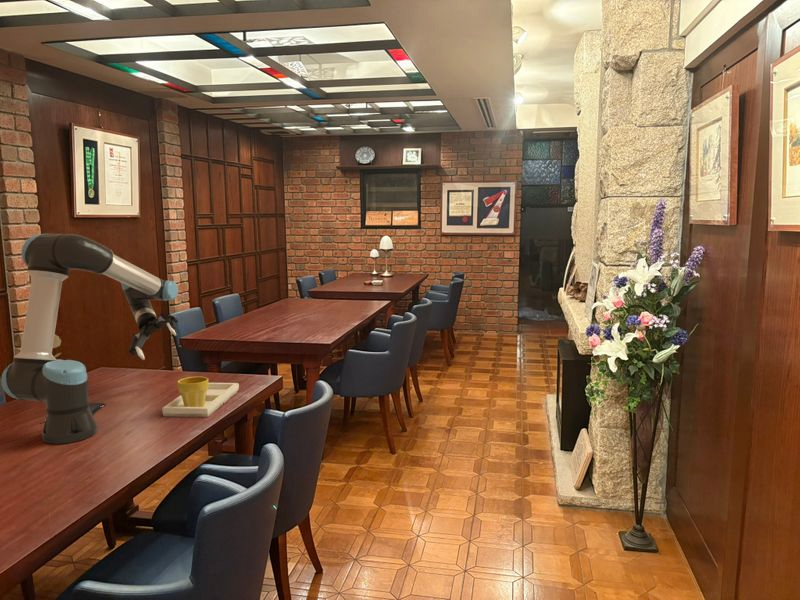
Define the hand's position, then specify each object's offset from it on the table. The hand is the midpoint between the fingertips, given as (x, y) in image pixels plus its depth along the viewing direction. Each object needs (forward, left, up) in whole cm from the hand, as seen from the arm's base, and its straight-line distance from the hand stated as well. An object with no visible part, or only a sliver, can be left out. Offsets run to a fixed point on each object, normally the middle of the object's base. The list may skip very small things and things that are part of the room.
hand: (157, 345), depth 205 cm
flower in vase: (+11, +48, -23) cm, 54 cm away
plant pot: (-2, -13, -22) cm, 26 cm away
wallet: (-8, +27, -24) cm, 37 cm away
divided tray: (+5, -13, -23) cm, 27 cm away
